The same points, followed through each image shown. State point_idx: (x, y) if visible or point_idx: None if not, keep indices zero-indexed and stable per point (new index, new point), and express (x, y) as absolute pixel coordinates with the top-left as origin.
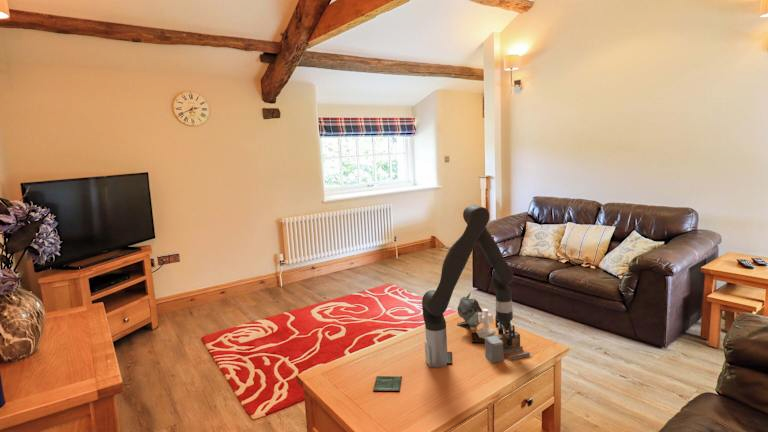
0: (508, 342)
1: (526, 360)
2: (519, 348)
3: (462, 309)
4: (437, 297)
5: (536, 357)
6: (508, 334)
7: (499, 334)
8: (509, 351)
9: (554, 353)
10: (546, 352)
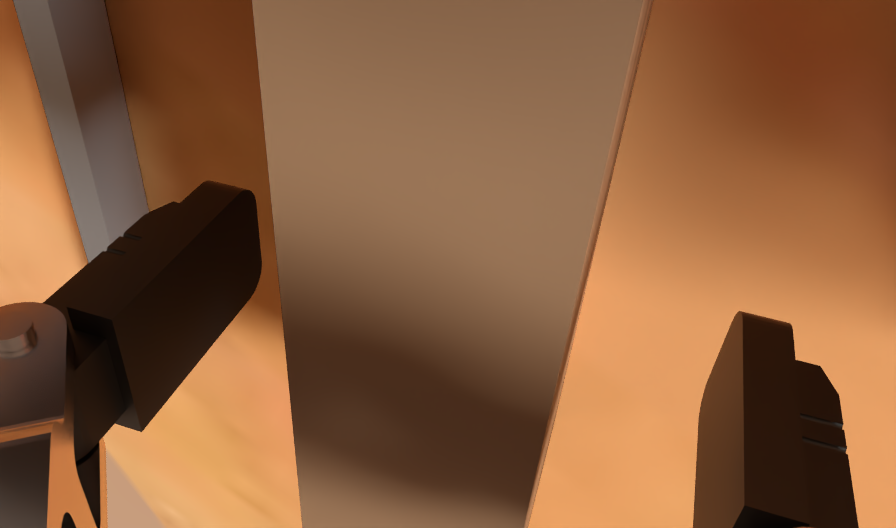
0: (153, 243)
1: (20, 175)
2: None
3: None
4: None
5: None
6: (408, 514)
7: (553, 357)
8: None
9: (161, 518)
10: (199, 491)
